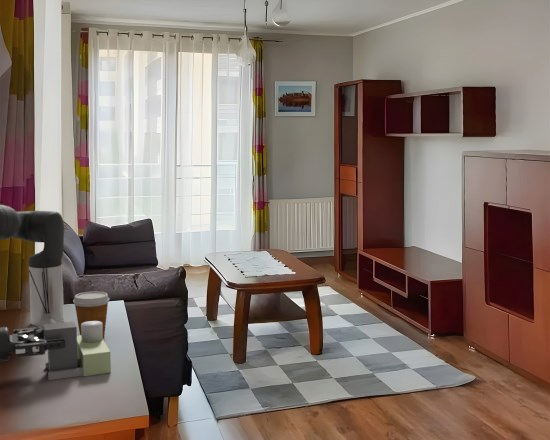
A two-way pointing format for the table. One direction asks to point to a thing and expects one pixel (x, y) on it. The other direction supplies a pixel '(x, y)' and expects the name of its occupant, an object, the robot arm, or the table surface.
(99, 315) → the disposable coffee cup
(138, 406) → the table surface
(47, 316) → the reed diffuser
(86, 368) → the pale green boxy piece
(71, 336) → the grey lidded box
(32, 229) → the robot arm
